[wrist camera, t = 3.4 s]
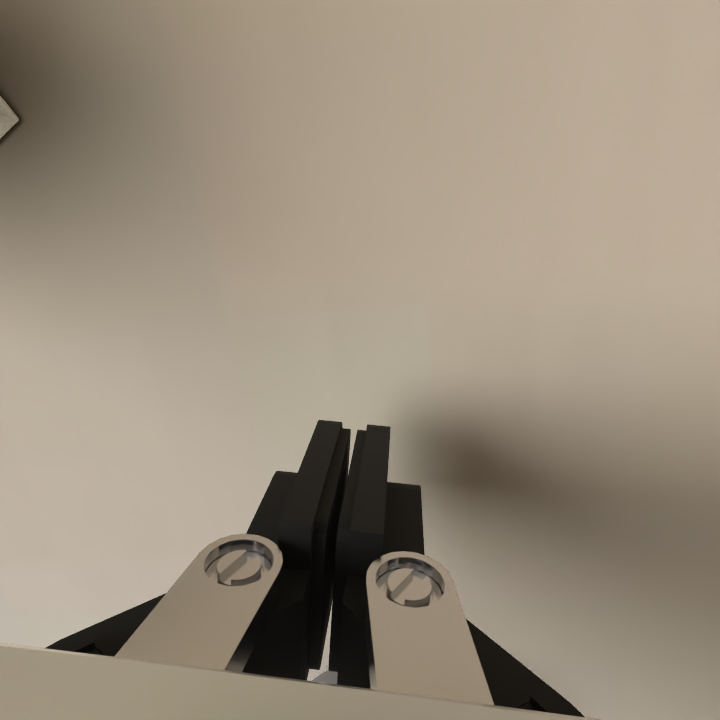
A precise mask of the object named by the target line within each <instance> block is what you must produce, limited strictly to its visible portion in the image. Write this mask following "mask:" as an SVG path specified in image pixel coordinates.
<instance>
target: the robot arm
mask: <svg viewBox="0 0 720 720" xmlns="http://www.w3.org/2000/svg"><path fill="white" fill-rule="evenodd" d="M350 434H351V430H350V429H343V428H342V422H335V421H324V420H319V421H318V423H317V425H316V428H315V430H314V433H313V435H312V438H311V441H310V443H309V446H308V448H307V451H306V453H305V456H304V458H303V461H302V464H301V466H300V469H299V471H298V473H293V472H283V471H276V473H275V474H274V476H273V478H272V480H271V482H270V485H269V487H268V489H267V491H266V493H265V495H264V497H263V499H262V501H261V504H260V506H259V508H258V510H257V512H256V514H255V516H254V518H253V520H252V523H251V525H250V527H249V529H248V531H247V533H246V534H238V535H230V536H227V537H224V538H220V539H218V540H216V541H214V542H213V543H211V544H209V545H208V546H207V547H205V548H204V549H203V550H202V551H201V552H200V553H199V554H198V555H197V557H196V558H195V559H194V560H193V562H192V563H191V564H190V565H189V566H188V568H187V569H186V570H185V571H184V572H183V574H182V575H181V576H180V577H179V579H178V580H177V581H176V582H175V583H174V585H173V586H172V587H171V588H170V589H169V591H168V592H167V593H166V594H163V595H161V596H159V597H157V598H154V599H152V600H150V601H147V602H145V603H143V604H141V605H138V606H136V607H134V608H132V609H129V610H127V611H125V612H122V613H120V614H118V615H116V616H113V617H111V618H109V619H106V620H104V621H102V622H100V623H97V624H95V625H93V626H91V627H88V628H86V629H84V630H81V631H79V632H77V633H75V634H72V635H70V636H68V637H65V638H63V639H61V640H59V641H57V642H55V643H54V644H52V645H50V646H48V647H46V648H37V647H29V646H21V645H13V644H4V643H0V720H600V719H593V718H585V717H584V716H583V715H582V714H581V713H580V712H579V711H578V710H577V709H576V708H575V707H574V706H573V705H572V704H571V703H570V702H568V701H567V700H566V699H565V698H563V697H562V696H561V695H560V694H559V693H557V692H556V691H555V690H554V689H552V688H551V687H550V686H549V685H547V684H546V683H545V682H544V681H542V680H541V679H540V678H539V677H537V676H536V675H535V674H534V673H532V672H531V671H530V670H529V669H528V668H526V667H525V666H524V665H523V664H521V663H520V662H519V661H518V660H516V659H515V658H514V657H513V656H511V655H510V654H509V653H508V652H506V651H505V650H504V649H503V648H501V647H500V646H499V645H498V644H497V643H495V642H494V641H493V640H492V639H490V638H489V637H488V636H487V635H485V634H484V633H483V632H482V631H480V630H479V629H478V628H477V627H475V626H474V625H473V624H472V623H470V622H469V621H468V620H467V619H466V618H465V615H464V612H463V609H462V606H461V603H460V600H459V597H458V594H457V591H456V588H455V585H454V582H453V580H452V578H451V576H450V574H449V572H448V571H447V570H446V569H445V568H444V567H443V566H442V565H441V564H440V563H439V562H437V561H435V560H433V559H432V558H430V557H428V556H425V555H424V539H423V521H422V502H421V487H420V485H410V484H401V483H391V482H387V474H388V458H389V442H390V427H387V426H377V425H367V430H366V431H364V430H358V431H357V435H356V440H355V445H354V450H353V455H352V460H351V464H350V469H349V474H348V465H349V450H350ZM332 600H333V604H332ZM331 605H332V620H331V637H330V654H329V671H332V672H338V675H337V684H329V683H321V682H313V681H307V677H308V672H309V669H316V670H319V669H320V666H321V661H322V655H323V649H324V644H325V638H326V633H327V627H328V622H329V616H330V611H331Z"/></svg>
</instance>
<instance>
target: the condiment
mask: <svg viewBox="0 0 720 720" xmlns="http://www.w3.org/2000/svg"><path fill="white" fill-rule="evenodd" d="M18 121H19V119H18V117H17V116H16V115H15V114H14V112H13V111H12V110H11V108H10V107H9V106H8V104H7V103H6V102H5V101H4V99H3V98H2V97H1V96H0V138H1V137H2V136H3V135H4V134H5V133H6V132H7V131H8V130H9V129H10V128H11V127H12V126H13V125H15V124H16V123H17V122H18Z"/></svg>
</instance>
